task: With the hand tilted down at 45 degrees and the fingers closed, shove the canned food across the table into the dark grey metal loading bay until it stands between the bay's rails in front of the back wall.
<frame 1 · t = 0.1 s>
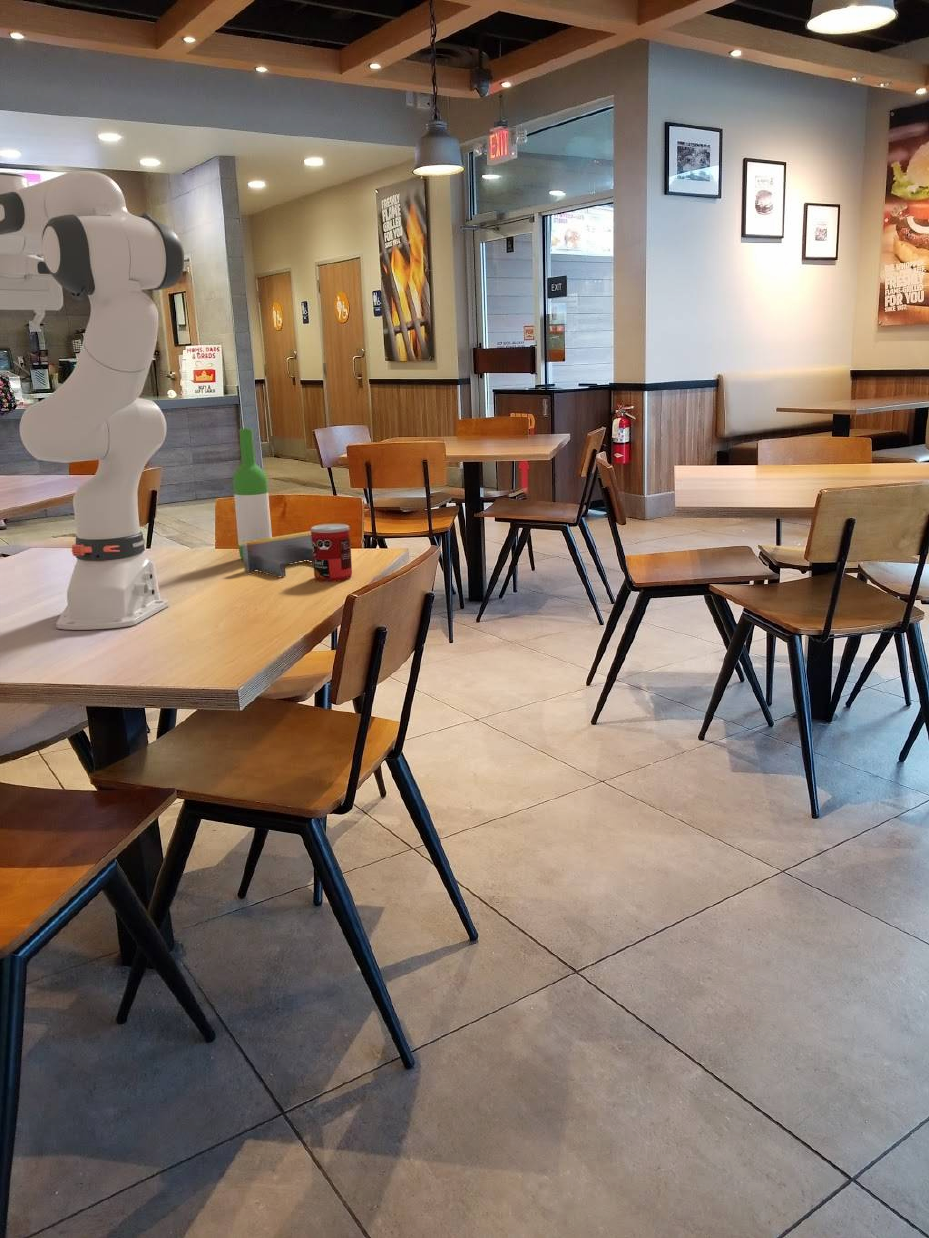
hand: (10, 330, 194), 52 cm above the table, tool tilted 20°, fingers open, 8 cm apart
loading bay: (299, 569, 211), on the table
wine bottle: (256, 559, 224), on the table
canned food: (333, 578, 202), on the table
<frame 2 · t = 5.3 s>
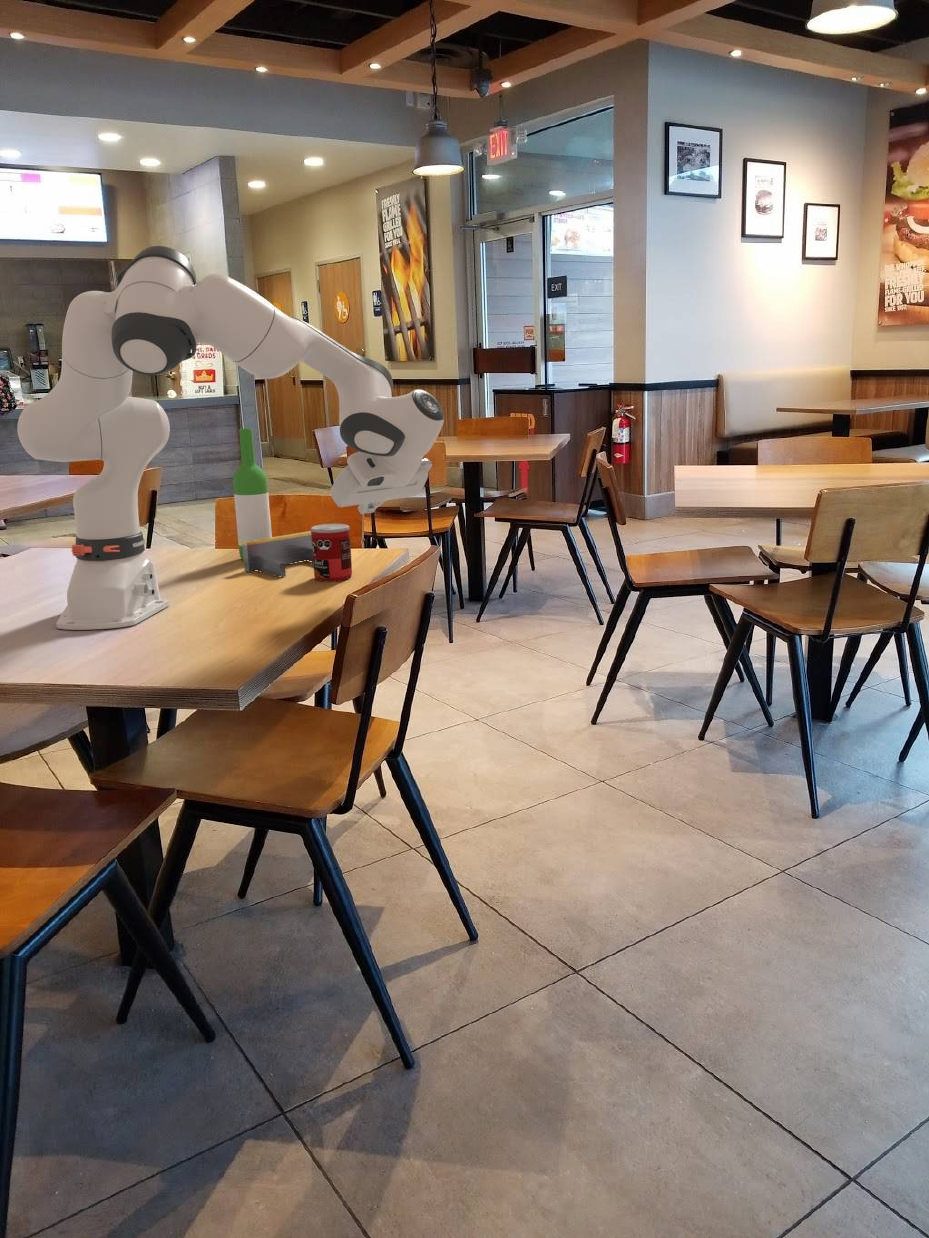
hand: (365, 510, 189), 16 cm above the table, tool tilted 45°, fingers closed
nothing on the table moved.
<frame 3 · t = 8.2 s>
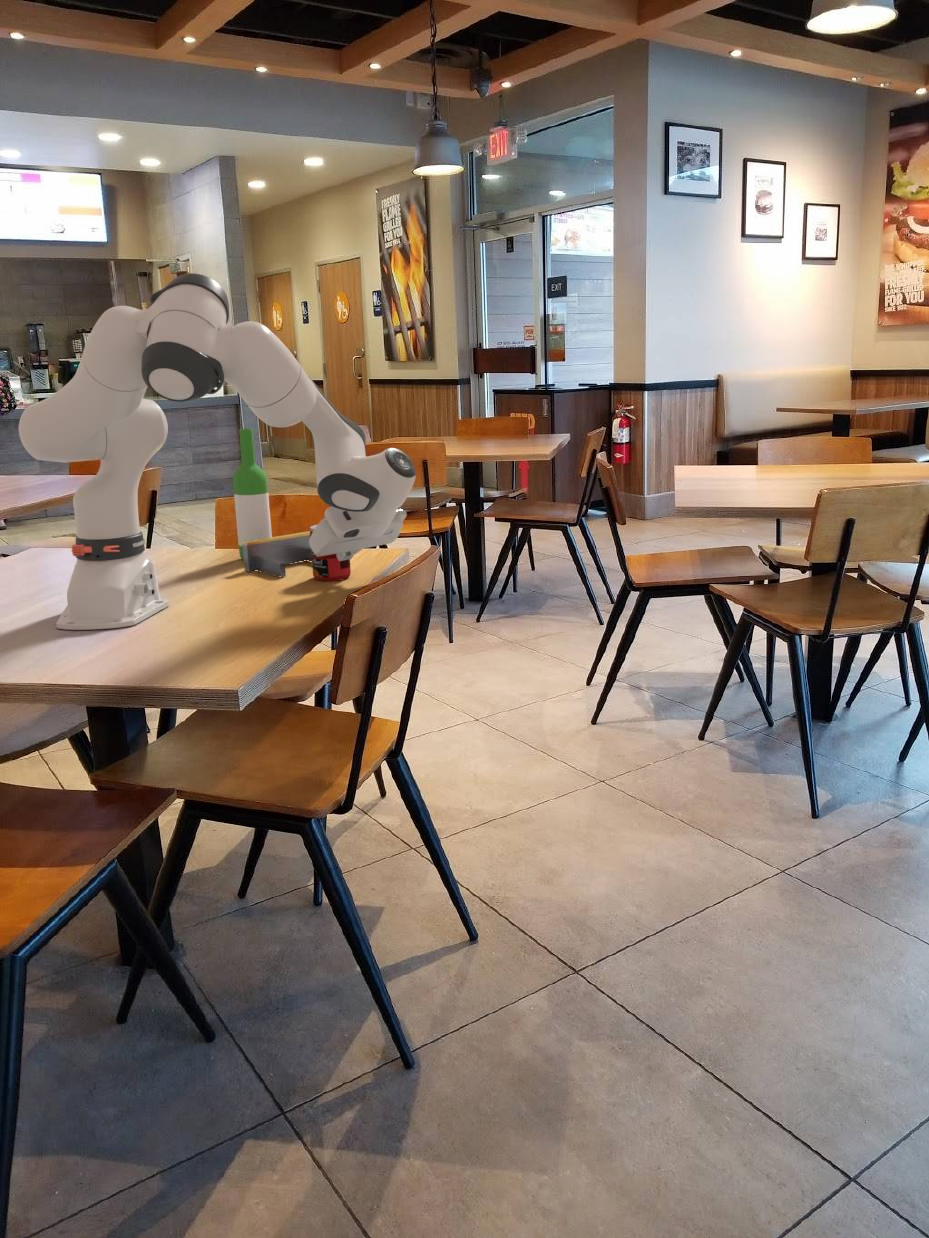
hand: (343, 557, 198), 5 cm above the table, tool tilted 45°, fingers closed, pressing on canned food
canned food: (332, 578, 202), on the table, touching gripper
everything else where it was.
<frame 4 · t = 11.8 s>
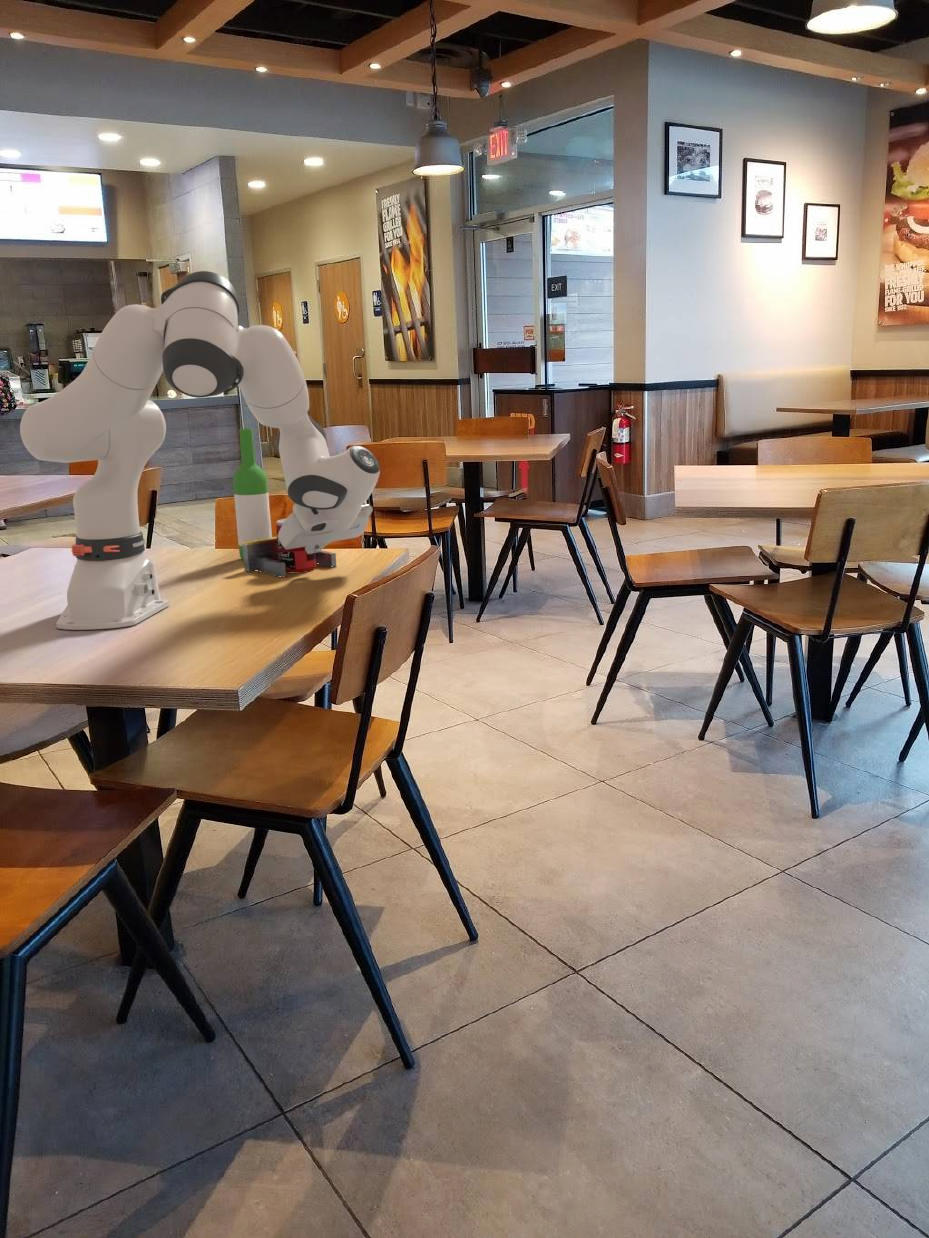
hand: (311, 550, 206), 5 cm above the table, tool tilted 45°, fingers closed
canned food: (298, 570, 211), on the table
everything else where it was.
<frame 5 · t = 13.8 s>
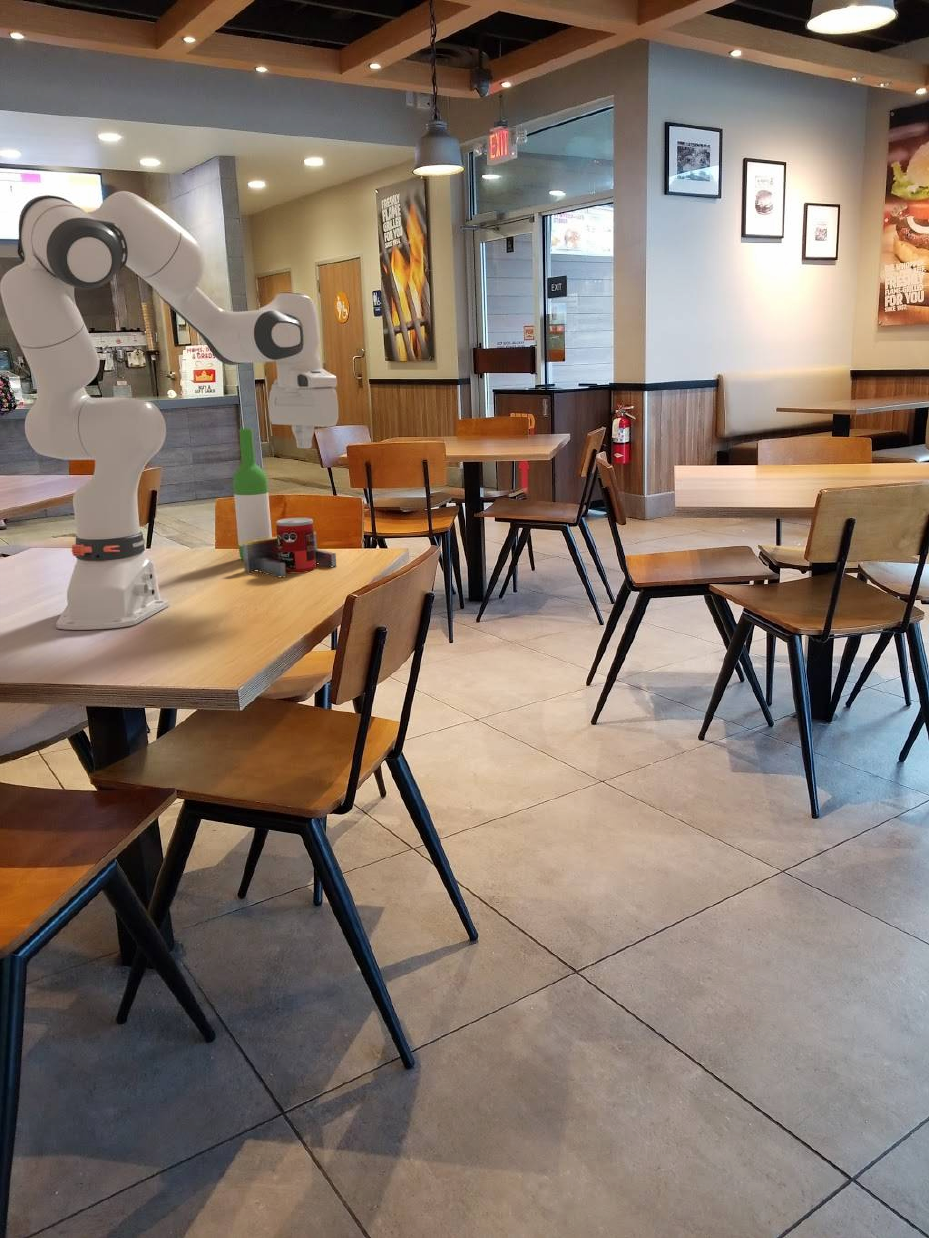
hand: (304, 448, 195), 27 cm above the table, tool pointing down, fingers closed
nothing on the table moved.
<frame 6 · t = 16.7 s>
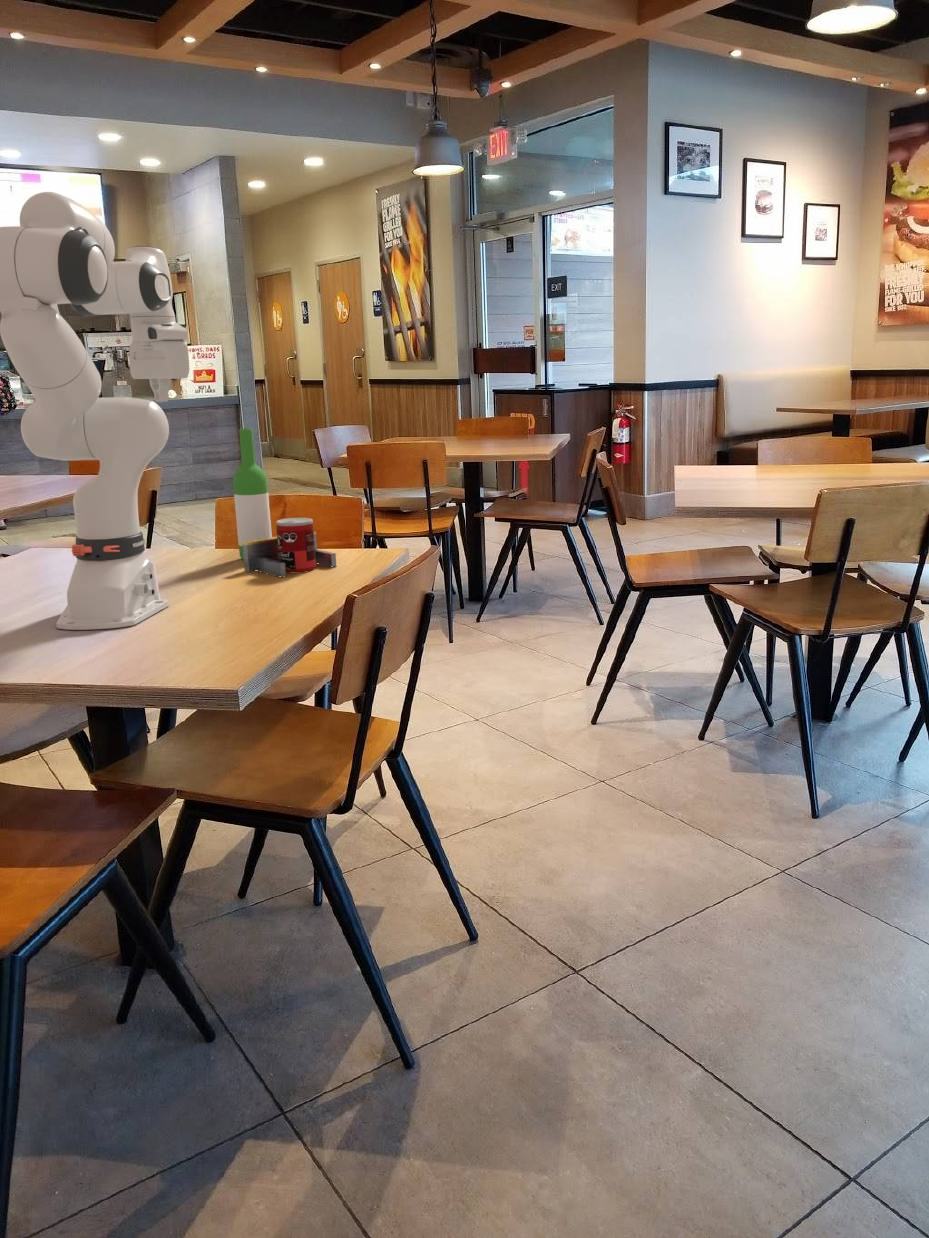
hand: (161, 401, 199), 37 cm above the table, tool pointing down, fingers closed
nothing on the table moved.
at the end: canned food 0.3 cm from the loading bay (horizontally); canned food tilted 0° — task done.
